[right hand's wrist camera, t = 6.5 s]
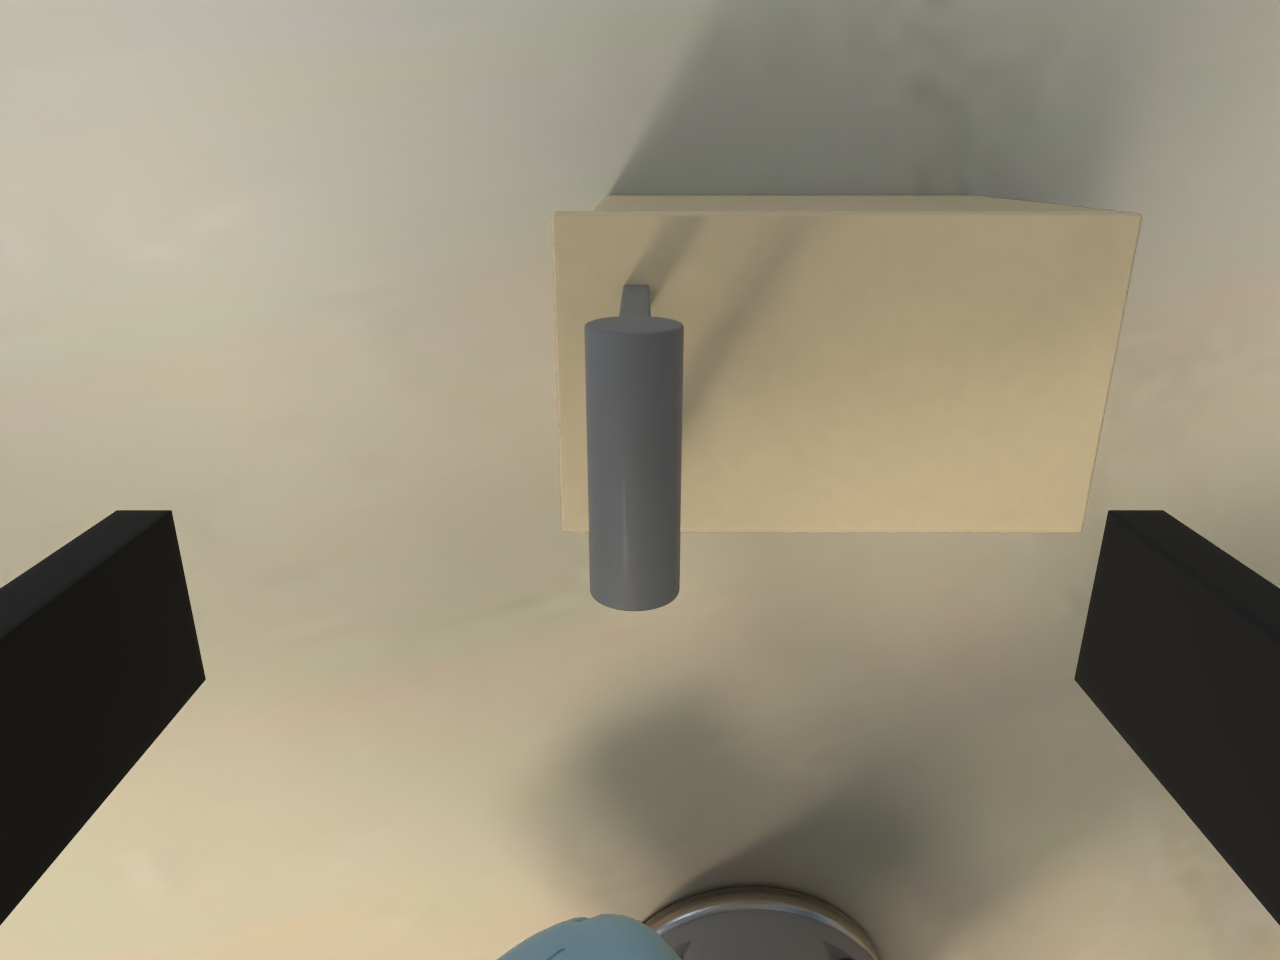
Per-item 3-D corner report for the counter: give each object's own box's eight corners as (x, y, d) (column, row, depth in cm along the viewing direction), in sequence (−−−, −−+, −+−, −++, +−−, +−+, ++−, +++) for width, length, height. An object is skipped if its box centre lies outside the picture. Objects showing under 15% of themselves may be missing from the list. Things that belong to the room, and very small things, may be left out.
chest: (609, 417, 38) (597, 517, 27) (606, 195, 34) (591, 210, 24) (945, 417, 38) (1063, 517, 27) (974, 195, 34) (1119, 210, 24)
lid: (564, 518, 27) (530, 681, 19) (555, 211, 24) (507, 239, 15) (1064, 518, 27) (1257, 681, 19) (1120, 210, 24) (1383, 239, 15)
